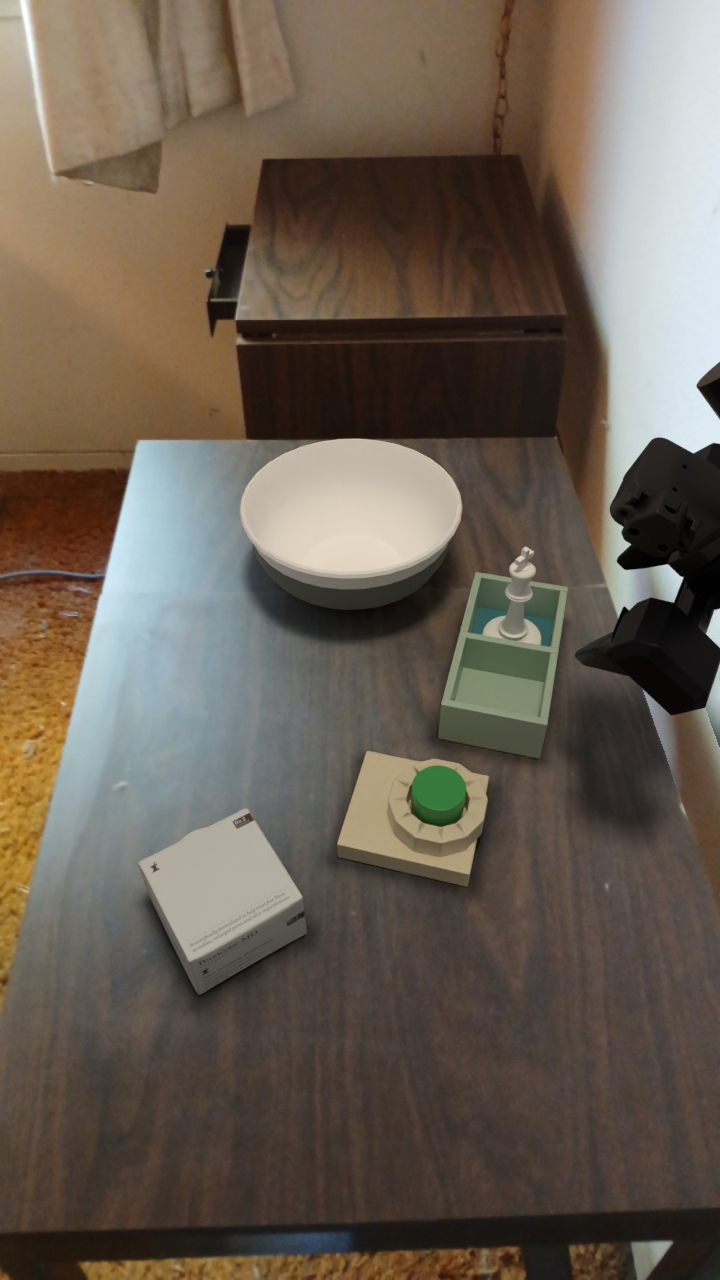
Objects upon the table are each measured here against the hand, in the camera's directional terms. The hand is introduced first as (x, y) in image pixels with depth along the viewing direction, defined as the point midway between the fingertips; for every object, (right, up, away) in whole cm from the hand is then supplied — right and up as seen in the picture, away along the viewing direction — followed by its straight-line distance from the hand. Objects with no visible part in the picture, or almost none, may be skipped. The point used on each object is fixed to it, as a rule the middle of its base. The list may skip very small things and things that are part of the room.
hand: (600, 609), depth 62 cm
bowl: (-17, +4, +19) cm, 26 cm away
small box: (-25, -20, -4) cm, 33 cm away
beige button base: (-13, -15, +1) cm, 20 cm away
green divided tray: (-5, -5, +10) cm, 12 cm away
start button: (-11, -13, -2) cm, 18 cm away
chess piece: (-4, -2, +12) cm, 13 cm away
